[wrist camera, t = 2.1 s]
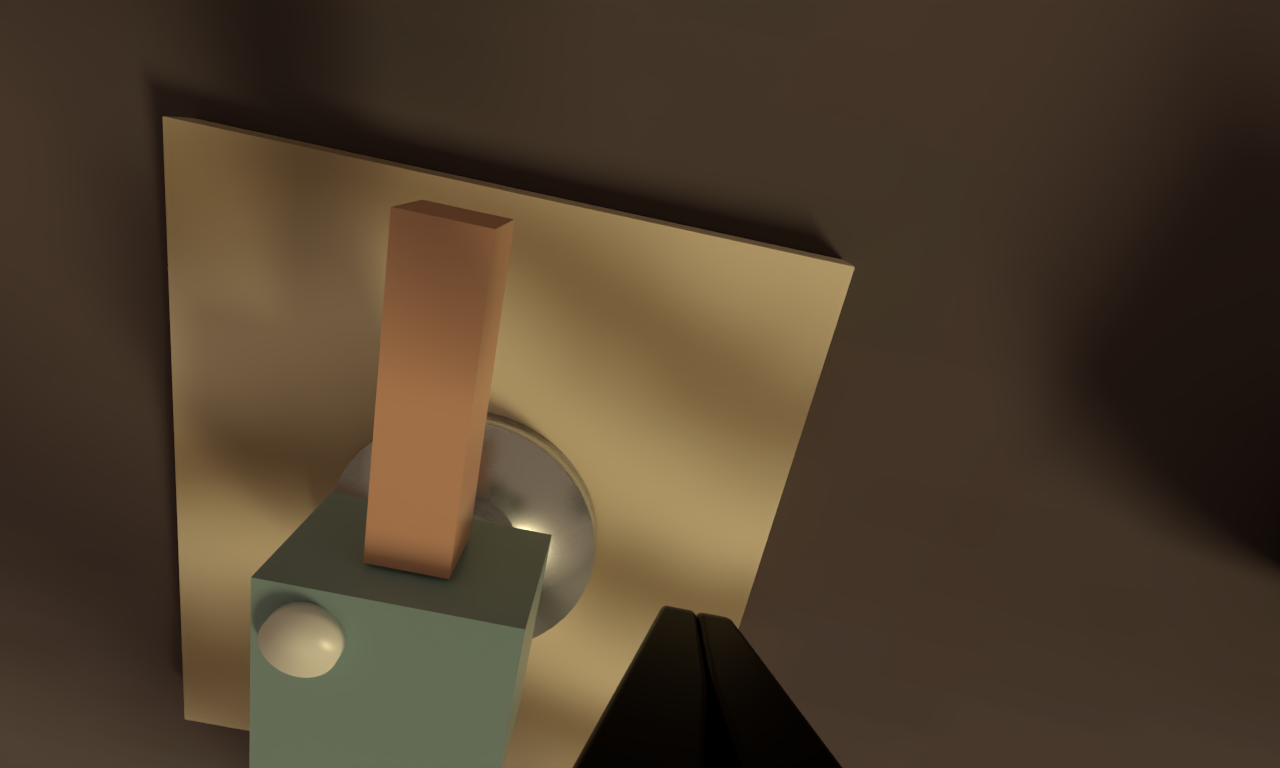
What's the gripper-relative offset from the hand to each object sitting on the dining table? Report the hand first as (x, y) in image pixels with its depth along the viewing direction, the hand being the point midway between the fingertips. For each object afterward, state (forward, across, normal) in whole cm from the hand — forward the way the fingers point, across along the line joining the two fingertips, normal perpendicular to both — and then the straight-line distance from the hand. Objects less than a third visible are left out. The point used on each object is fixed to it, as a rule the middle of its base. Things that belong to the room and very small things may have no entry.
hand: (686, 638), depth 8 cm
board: (+10, +5, +5) cm, 12 cm away
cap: (+6, +4, +2) cm, 8 cm away
